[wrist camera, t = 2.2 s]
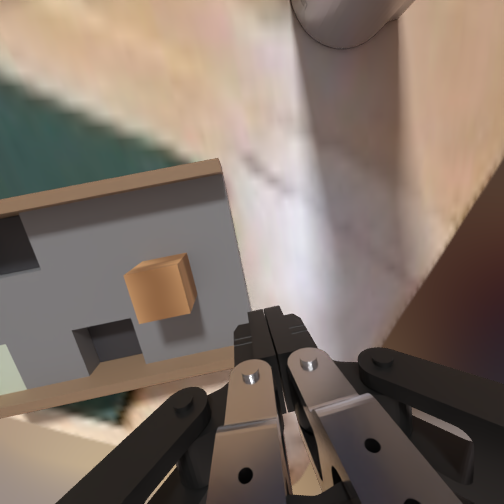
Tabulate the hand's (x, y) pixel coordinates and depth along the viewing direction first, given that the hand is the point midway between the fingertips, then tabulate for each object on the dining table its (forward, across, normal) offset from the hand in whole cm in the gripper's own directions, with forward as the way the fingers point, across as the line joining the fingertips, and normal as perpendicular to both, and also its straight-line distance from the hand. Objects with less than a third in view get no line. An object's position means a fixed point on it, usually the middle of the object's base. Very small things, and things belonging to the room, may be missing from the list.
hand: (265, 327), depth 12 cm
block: (+12, +7, 0) cm, 14 cm away
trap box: (+14, +14, 0) cm, 20 cm away
